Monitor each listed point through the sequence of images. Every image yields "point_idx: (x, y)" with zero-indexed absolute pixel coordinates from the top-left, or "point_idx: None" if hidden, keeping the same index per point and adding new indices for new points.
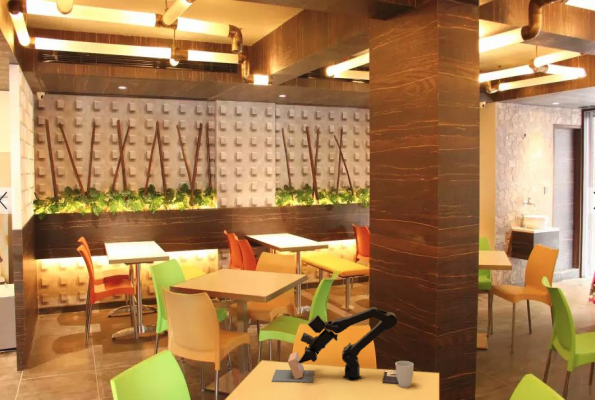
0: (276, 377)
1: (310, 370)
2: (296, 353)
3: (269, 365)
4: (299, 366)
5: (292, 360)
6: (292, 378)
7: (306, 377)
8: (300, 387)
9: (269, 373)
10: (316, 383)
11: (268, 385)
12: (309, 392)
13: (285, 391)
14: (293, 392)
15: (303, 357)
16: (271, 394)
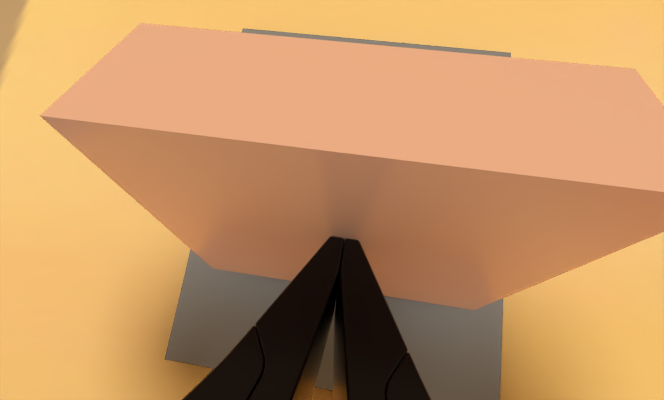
0: None
1: (493, 375)
2: (520, 170)
3: (647, 11)
4: (252, 241)
5: (97, 84)
6: None
7: None
8: (88, 239)
9: (438, 17)
10: (150, 392)
11: (180, 20)
12: None
13: (39, 127)
14: (3, 181)
15: (246, 349)
16: (13, 42)
